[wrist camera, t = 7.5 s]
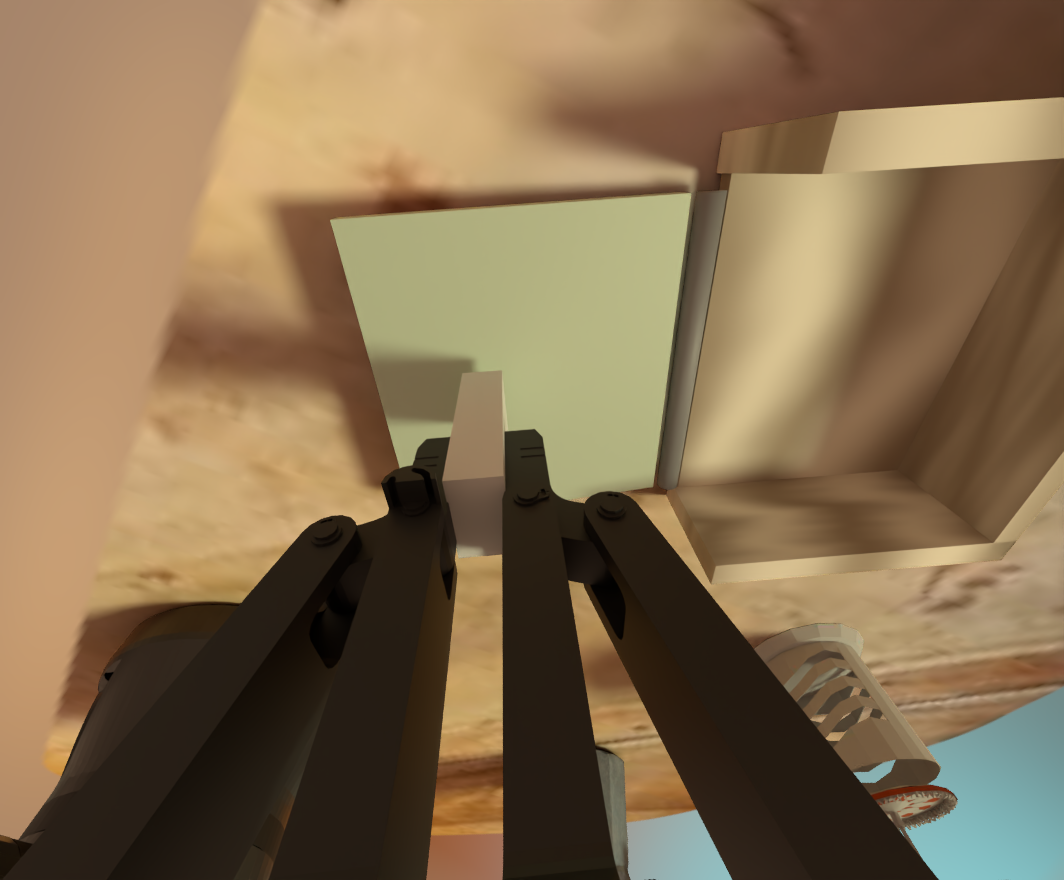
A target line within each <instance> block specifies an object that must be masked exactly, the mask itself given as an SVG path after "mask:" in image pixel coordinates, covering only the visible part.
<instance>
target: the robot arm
mask: <svg viewBox="0 0 1064 880" xmlns="http://www.w3.org/2000/svg"><path fill="white" fill-rule="evenodd" d="M381 484H382V488H383V491H384V494H385V497H386V500H387V503H388V507H389V511H388V514H387V515H386V516H384V517H382V518H379V519H377V520H374V521H371V522H368V523H365V524H361V525H358V526H357V525H356V523H355V521H354V520H353V519H352V518H351V517H347V516H343V515H339V516H330V517H327V518H323V519H321V520H319V521H317V522H315V523H313V524H311V525H310V526H309V527H308V528H307V529H305V530H304V531H303V532H302V533H301V534H300V536H299V537H298V538H297V539H296V540H295V541H294V543H293V544H292V545H291V546H290V547H289V548H288V549H287V551H286V552H285V553H284V554H283V555H282V556H281V558H280V559H279V560H278V561H277V562H276V563H275V565H274V566H273V567H272V568H271V569H270V570H269V571H268V573H267V574H266V575H265V576H264V577H263V578H262V580H261V581H260V582H259V583H258V584H257V585H256V587H255V588H254V589H253V590H252V591H251V592H250V593H249V595H248V596H247V597H246V598H245V599H244V600H243V602H242V603H241V604H240V605H239V606H231V605H199V606H189V607H183V608H178V609H173V610H169V611H166V612H163V613H160V614H157V615H155V616H153V617H151V618H149V619H147V620H145V621H144V622H143V623H141V624H140V625H139V626H138V627H136V628H135V630H134V631H133V632H132V633H131V634H130V636H129V637H128V638H127V639H126V641H125V642H124V643H123V644H122V646H121V647H120V648H119V649H118V650H117V652H116V653H115V654H114V655H113V657H112V658H111V659H110V661H109V662H108V664H107V666H106V667H105V669H104V671H103V673H102V676H101V678H100V681H99V685H98V691H99V693H98V695H97V697H96V699H95V701H94V703H93V704H92V706H91V708H90V710H89V712H88V714H87V716H86V719H85V721H84V723H83V725H82V727H81V730H80V732H79V734H78V737H77V739H76V741H75V744H74V746H73V749H72V751H71V754H70V756H69V759H68V761H67V764H66V766H65V769H64V771H63V774H62V776H61V778H60V781H59V782H58V784H57V786H56V788H55V789H54V791H53V792H52V794H51V795H50V797H49V798H48V799H47V801H46V802H45V804H44V805H43V806H42V808H41V809H40V811H39V812H38V814H37V815H36V816H35V818H34V819H33V820H32V822H31V823H30V824H29V826H28V827H27V829H26V830H25V832H24V833H23V834H22V836H21V837H20V838H19V840H16V839H12V838H10V837H6V836H2V835H0V880H426V876H427V866H428V857H429V847H430V837H431V827H432V818H433V808H434V798H435V788H436V779H437V769H438V759H439V749H440V739H441V730H442V720H443V710H444V700H445V691H446V681H447V671H448V661H449V651H450V642H451V632H452V622H453V612H454V603H455V593H456V583H457V568H456V563H455V553H456V548H457V553H458V557H459V558H466V557H478V556H489V555H500V554H502V579H503V880H620V878H619V874H618V871H617V868H616V864H615V860H614V855H613V850H612V844H611V838H610V832H609V826H608V820H607V814H606V808H605V802H604V796H603V789H602V783H601V777H600V771H599V765H598V759H597V753H596V747H595V741H594V735H593V729H592V723H591V717H590V710H589V704H588V698H587V692H586V686H585V680H584V674H583V668H582V662H581V656H580V650H579V644H578V637H577V631H576V625H575V619H574V613H573V607H572V601H571V595H570V589H569V583H568V580H569V581H574V582H579V583H583V584H584V588H585V590H586V592H587V594H588V596H589V598H590V600H591V601H592V603H593V605H594V607H595V609H596V611H597V613H598V615H599V617H600V619H601V621H602V623H603V625H604V627H605V629H606V631H607V633H608V635H609V637H610V639H611V641H612V643H613V645H614V647H615V649H616V651H617V653H618V655H619V657H620V659H621V661H622V663H623V665H624V667H625V669H626V671H627V673H628V675H629V677H630V679H631V680H632V682H633V684H634V686H635V688H636V690H637V692H638V694H639V696H640V698H641V700H642V702H643V704H644V706H645V708H646V710H647V712H648V714H649V716H650V718H651V720H652V722H653V724H654V726H655V728H656V730H657V732H658V734H659V736H660V738H661V740H662V742H663V744H664V746H665V748H666V750H667V752H668V754H669V756H670V758H671V759H672V761H673V763H674V765H675V767H676V769H677V771H678V773H679V775H680V777H681V779H682V781H683V783H684V785H685V787H686V789H687V791H688V793H689V795H690V797H691V799H692V801H693V803H694V805H695V807H696V809H697V811H698V813H699V815H700V817H701V819H702V820H703V823H704V824H705V827H706V829H707V831H708V833H709V834H710V837H711V838H712V840H713V842H714V844H715V846H716V848H717V850H718V852H719V854H720V856H721V858H722V860H723V862H724V864H725V866H726V868H727V870H728V872H729V874H730V876H731V878H732V880H939V879H938V878H937V877H936V876H935V875H934V873H933V872H932V871H931V870H930V868H929V867H928V866H927V865H926V863H925V862H924V861H923V860H922V858H921V857H920V856H919V855H918V853H917V852H916V851H915V850H914V848H913V847H912V846H911V845H910V843H909V842H908V841H907V840H906V838H905V837H904V836H903V835H902V833H901V832H900V831H899V830H898V828H897V827H896V826H895V825H894V823H893V822H892V821H891V820H890V818H889V817H888V816H887V815H886V813H885V812H884V811H883V810H882V808H881V807H880V806H879V805H878V803H877V802H876V801H875V800H874V798H873V797H872V796H871V795H870V793H869V792H868V791H867V790H866V788H865V787H864V786H863V785H862V783H861V782H860V781H859V780H858V779H857V777H856V776H855V775H854V773H853V772H852V771H851V770H850V768H849V767H848V766H847V765H846V764H845V762H844V761H843V760H842V759H841V757H840V756H839V755H838V754H837V752H836V751H835V750H834V749H833V747H832V746H831V745H830V744H829V742H828V741H827V740H826V739H825V737H824V736H823V735H822V734H821V732H820V731H819V730H818V729H817V727H816V726H815V725H814V724H813V722H812V721H811V720H810V719H809V717H808V716H807V715H806V714H805V712H804V711H803V710H802V709H801V707H800V706H799V705H798V704H797V702H796V701H795V700H794V699H793V697H792V696H791V695H790V694H789V692H788V691H787V690H786V689H785V687H784V686H783V685H782V684H781V682H780V681H779V680H778V679H777V677H776V676H775V675H774V674H773V672H772V671H771V670H770V669H769V667H768V666H767V665H766V664H765V662H764V661H763V660H762V659H761V657H760V656H759V655H758V654H757V653H756V651H755V650H754V649H753V648H752V646H751V645H750V644H749V643H748V641H747V640H746V639H745V638H744V636H743V635H742V634H741V633H740V631H739V630H738V629H737V628H736V626H735V625H734V624H733V623H732V621H731V620H730V619H729V618H728V616H727V615H726V614H725V613H724V611H723V610H722V609H721V608H720V606H719V605H718V604H717V603H716V601H715V600H714V599H713V598H712V596H711V595H710V594H709V593H708V591H707V590H706V589H705V588H704V586H703V585H702V584H701V583H700V581H699V580H698V579H697V578H696V576H695V575H694V574H693V573H692V571H691V570H690V569H689V568H688V566H687V565H686V564H685V563H684V561H683V560H682V559H681V558H680V556H679V555H678V554H677V553H676V551H675V550H674V549H673V548H672V546H671V545H670V544H669V543H668V542H667V540H666V539H665V538H664V537H663V535H662V534H661V533H660V532H659V530H658V529H657V528H656V527H655V525H654V524H653V523H652V522H651V520H650V519H649V518H648V517H647V515H646V514H645V513H644V512H643V510H642V509H641V508H640V507H639V505H638V504H637V503H636V502H635V501H634V500H633V499H632V498H630V497H629V496H627V495H625V494H622V493H620V492H613V491H605V492H599V493H596V494H594V495H592V496H590V497H589V498H588V499H587V500H586V502H585V503H578V502H573V501H568V500H566V499H563V498H561V497H560V496H558V495H557V494H556V493H555V492H554V491H553V490H552V488H551V485H550V479H549V473H548V467H547V461H546V455H545V449H544V442H543V437H542V436H541V435H540V434H539V433H538V432H537V431H536V430H535V429H528V430H516V431H508V424H507V414H506V404H505V394H504V384H503V374H502V370H498V371H485V372H472V373H462V378H461V383H460V388H459V394H458V399H457V404H456V410H455V415H454V420H453V426H452V431H451V436H450V437H443V438H430V439H426V440H425V441H424V442H423V443H422V444H421V445H420V446H419V447H418V448H417V452H416V455H415V460H414V462H413V465H410V466H405V467H402V468H399V469H397V470H394V471H393V472H391V473H390V474H389V475H387V476H386V477H385V478H384V480H383V481H382V483H381Z"/></svg>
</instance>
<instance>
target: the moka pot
mask: <svg viewBox="0 0 1064 880" xmlns="http://www.w3.org/2000/svg"><path fill="white" fill-rule="evenodd" d="M596 753H597V759H598V765H599V771H600V777H601V783H602V789H603V796H604V802H605V808H606V814H607V820H608V826H609V832H610V838H611V844H612V850H613V855H614V860H615V864H616V868H617V871H618V874H619V878H620V880H630V877H629V874H628V869H627V868H628V837H627V826H626V801H625V776H624V762H623V760H621V759H620V758H619V757H617V756H616V755H614V754H611V753H607V752H605V751H601V750H596ZM649 880H650V879H649ZM653 880H655V879H653Z"/></svg>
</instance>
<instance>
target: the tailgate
mask: <svg viewBox="0 0 1064 880" xmlns="http://www.w3.org/2000/svg"><path fill="white" fill-rule="evenodd" d="M726 196H727V190H711V191H698V192H696V199H695V207H694V214H693V221H692V229H691V236H690V243H689V251H688V258H687V265H686V273H685V280H684V288H683V295H682V302H681V310H680V317H679V324H678V332H677V339H676V346H675V354H674V361H673V368H672V376H671V383H670V390H669V398H668V405H667V412H666V420H665V427H664V435H663V442H662V449H661V457H660V464H659V471H658V479H657V484H658V486H659V487H661V488H663V489H666V490H672V489H675V488H676V487H677V484H678V478H679V472H680V466H681V460H682V454H683V448H684V442H685V436H686V431H687V425H688V419H689V413H690V407H691V401H692V395H693V389H694V384H695V378H696V372H697V366H698V360H699V354H700V348H701V342H702V337H703V331H704V325H705V319H706V313H707V307H708V301H709V295H710V290H711V284H712V278H713V272H714V266H715V260H716V254H717V248H718V243H719V237H720V231H721V225H722V219H723V213H724V207H725V201H726ZM690 200H691V193H684V192H672V193H659V194H645V195H631V196H618V197H604V198H591V199H577V200H564V201H550V202H537V203H523V204H509V205H496V206H482V207H469V208H455V209H442V210H428V211H415V212H401V213H387V214H374V215H360V216H347V217H336V218H334V219H331V220H330V222H331V225H332V229H333V232H334V236H335V239H336V243H337V247H338V250H339V254H340V257H341V261H342V264H343V268H344V271H345V275H346V279H347V282H348V286H349V289H350V293H351V296H352V300H353V303H354V307H355V311H356V314H357V318H358V321H359V325H360V328H361V332H362V336H363V339H364V343H365V346H366V350H367V353H368V357H369V360H370V364H371V368H372V371H373V375H374V378H375V382H376V385H377V389H378V393H379V396H380V400H381V403H382V407H383V410H384V414H385V417H386V421H387V425H388V428H389V432H390V435H391V439H392V442H393V446H394V449H395V453H396V457H397V460H398V464H399V467H400V468H402V467H405V466H410V465H413V462H414V460H415V455H416V452H417V448H418V447H419V446H420V445H421V444H422V443H423V442H424V441H425V440H426V439H430V438H443V437H450V436H451V431H452V426H453V420H454V415H455V410H456V404H457V399H458V394H459V388H460V383H461V378H462V373H472V372H485V371H498V370H502V374H503V384H504V394H505V404H506V414H507V424H508V431H516V430H528V429H535V430H536V431H537V432H538V433H539V434H540V435H541V436H542V437H543V442H544V449H545V455H546V461H547V467H548V473H549V479H550V485H551V488H552V490H553V491H554V492H555V493H556V494H557V495H558V496H560V497H561V498H563V499H566V500H571V499H577V498H584V497H590V496H592V495H594V494H596V493H599V492H605V491H613V492H623V491H630V490H636V489H643V488H650V487H653V484H654V476H655V468H656V461H657V453H658V445H659V438H660V430H661V422H662V415H663V407H664V399H665V392H666V384H667V376H668V369H669V361H670V353H671V346H672V338H673V330H674V323H675V315H676V307H677V300H678V292H679V284H680V277H681V269H682V261H683V254H684V246H685V238H686V231H687V223H688V215H689V208H690Z"/></svg>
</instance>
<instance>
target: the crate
mask: <svg viewBox="0 0 1064 880" xmlns="http://www.w3.org/2000/svg"><path fill="white" fill-rule="evenodd" d="M716 173H722V175H721V181H720V187H719V190H727V196H726V201H725V207H724V213H723V219H722V225H721V231H720V237H719V243H718V248H717V254H716V260H715V266H714V272H713V278H712V284H711V290H710V295H709V301H708V307H707V313H706V319H705V325H704V331H703V337H702V342H701V348H700V354H699V360H698V366H697V372H696V378H695V384H694V389H693V395H692V401H691V407H690V413H689V419H688V425H687V431H686V436H685V442H684V448H683V454H682V460H681V466H680V472H679V478H678V484H677V487H676V488H675V489H672V490H667V495H666V496H667V498H668V500H669V502H670V504H671V506H672V508H673V510H674V512H675V514H676V516H677V517H678V519H679V521H680V523H681V525H682V527H683V529H684V531H685V533H686V535H687V537H688V539H689V541H690V543H691V545H692V547H693V549H694V551H695V553H696V555H697V557H698V559H699V561H700V563H701V565H702V567H703V569H704V571H705V573H706V575H707V577H708V579H709V581H710V583H711V584H722V583H734V582H746V581H758V580H770V579H782V578H794V577H806V576H818V575H830V574H842V573H854V572H866V571H878V570H890V569H902V568H914V567H926V566H938V565H950V564H962V563H974V562H986V561H998V560H1002V558H1003V557H1004V556H1005V555H1006V553H1007V552H1008V551H1009V550H1010V548H1011V547H1012V546H1013V545H1014V543H1015V542H1016V541H1017V540H1018V539H1019V537H1020V536H1021V535H1022V534H1023V532H1024V531H1025V530H1026V529H1027V527H1028V526H1029V525H1030V524H1031V522H1032V521H1033V520H1034V519H1035V517H1036V516H1037V515H1038V514H1039V512H1040V511H1041V510H1042V509H1043V507H1044V506H1045V505H1046V504H1047V503H1048V501H1049V500H1050V499H1051V498H1052V496H1053V495H1054V494H1055V493H1056V491H1057V490H1058V489H1059V488H1060V486H1061V485H1062V484H1063V483H1064V97H1060V98H1044V99H1028V100H1012V101H997V102H981V103H965V104H949V105H934V106H918V107H902V108H886V109H871V110H855V111H839V112H833V113H828V114H822V115H817V116H811V117H806V118H800V119H794V120H789V121H783V122H778V123H772V124H766V125H761V126H755V127H750V128H744V129H738V130H733V131H727V132H723V134H722V140H721V146H720V153H719V159H718V166H717V172H716Z"/></svg>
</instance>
